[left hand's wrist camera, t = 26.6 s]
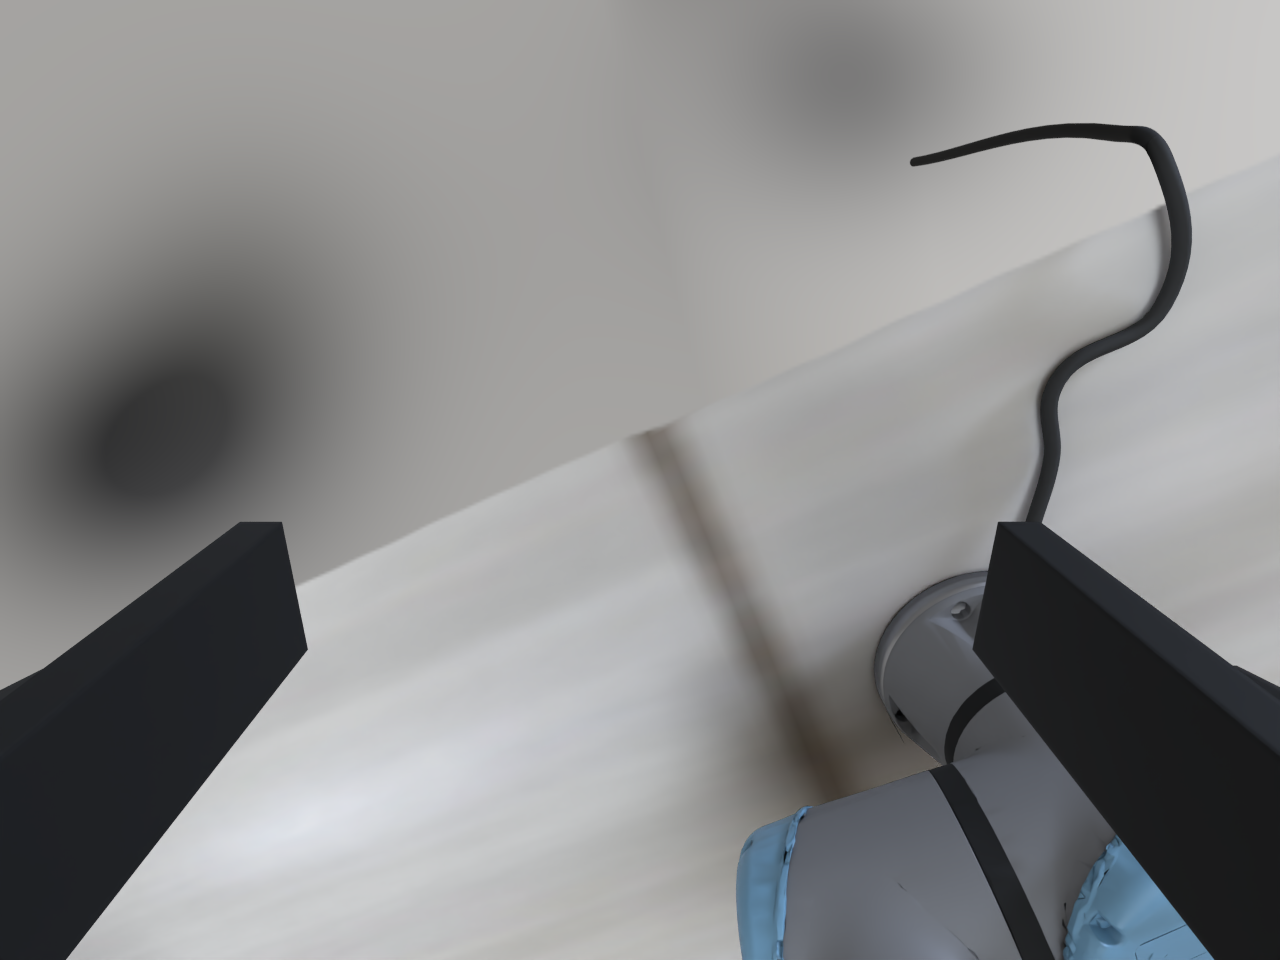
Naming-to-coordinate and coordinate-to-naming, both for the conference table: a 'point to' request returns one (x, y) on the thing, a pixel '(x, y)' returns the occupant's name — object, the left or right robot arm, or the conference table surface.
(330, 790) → the conference table surface
